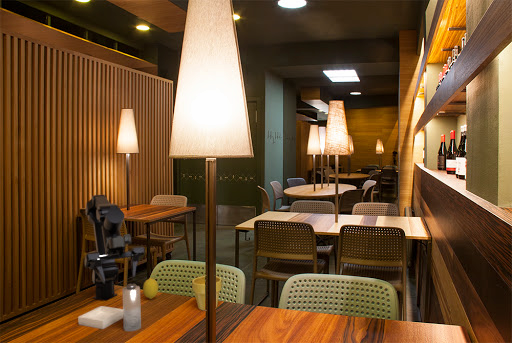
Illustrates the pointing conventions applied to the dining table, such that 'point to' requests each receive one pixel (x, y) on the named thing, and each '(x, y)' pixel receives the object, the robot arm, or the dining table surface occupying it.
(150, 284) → the lemon
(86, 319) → the serving tray
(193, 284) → the plant pot
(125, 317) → the metal water bottle
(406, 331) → the dining table surface
